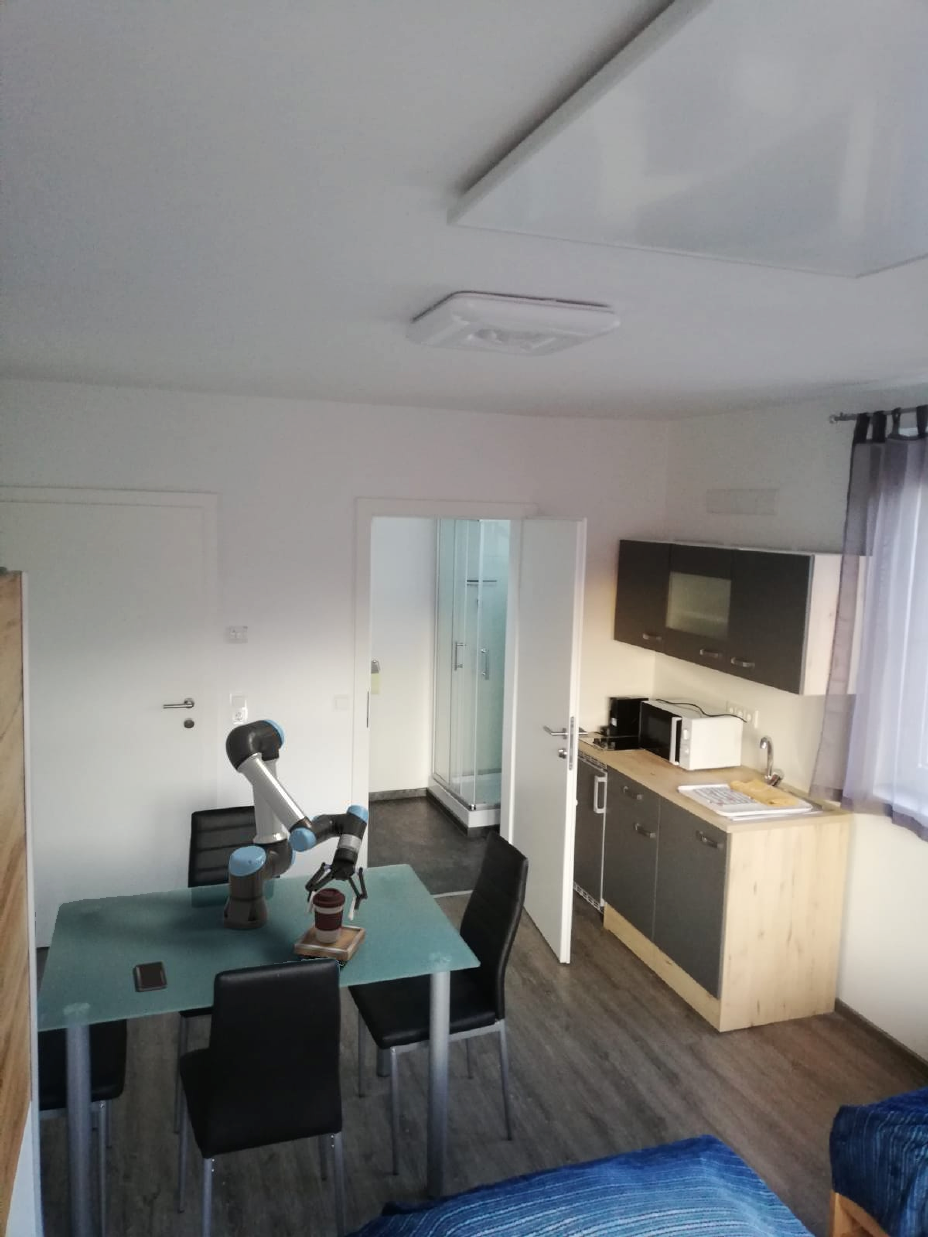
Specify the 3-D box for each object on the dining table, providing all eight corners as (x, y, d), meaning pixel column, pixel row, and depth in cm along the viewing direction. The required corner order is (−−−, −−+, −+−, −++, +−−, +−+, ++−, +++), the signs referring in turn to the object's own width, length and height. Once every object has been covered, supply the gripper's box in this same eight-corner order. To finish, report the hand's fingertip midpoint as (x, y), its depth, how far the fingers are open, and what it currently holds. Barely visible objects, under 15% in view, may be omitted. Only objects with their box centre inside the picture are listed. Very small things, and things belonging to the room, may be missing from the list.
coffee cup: (305, 940, 275) (306, 894, 273) (324, 928, 284) (325, 883, 282) (331, 949, 270) (333, 901, 269) (350, 936, 279) (351, 890, 278)
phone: (138, 990, 250) (134, 965, 263) (138, 994, 250) (134, 968, 263) (167, 985, 253) (163, 961, 266) (167, 989, 253) (163, 964, 266)
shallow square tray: (294, 962, 271) (294, 944, 270) (314, 938, 288) (315, 920, 287) (347, 970, 268) (348, 952, 267) (365, 945, 284) (365, 928, 284)
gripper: (386, 862, 288) (370, 926, 274) (313, 852, 293) (294, 915, 279) (382, 851, 282) (365, 917, 269) (308, 842, 287) (288, 906, 274)
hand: (329, 916), depth 274 cm, fingers open, 13 cm apart
